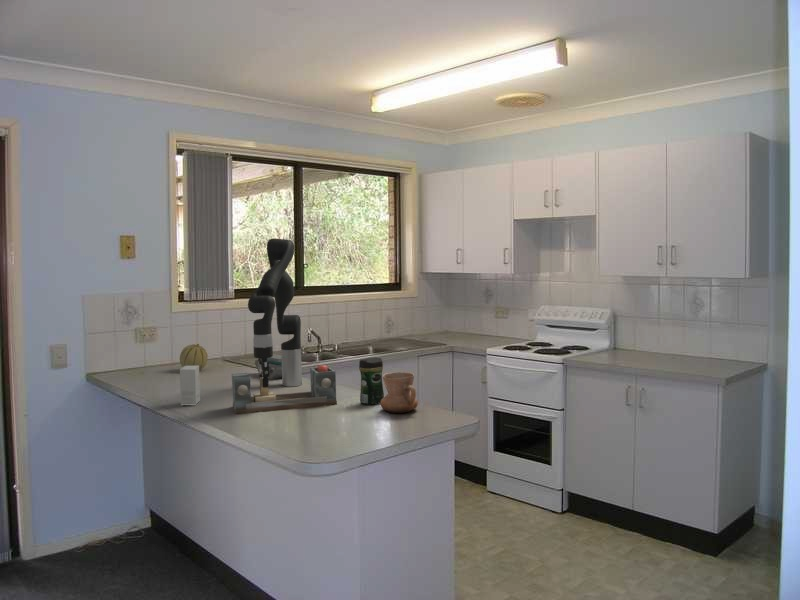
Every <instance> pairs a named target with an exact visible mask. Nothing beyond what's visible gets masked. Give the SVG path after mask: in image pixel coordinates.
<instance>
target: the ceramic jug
mask: <svg viewBox="0 0 800 600" xmlns="http://www.w3.org/2000/svg"><path fill="white" fill-rule="evenodd" d="M414 379H415V374H414V373H413V372H409V371H407V372H406V371H394V372H393V371H392V372H387V373H384V374H382V382H383V384H384V385H385V389H386V392H387V395H384V398H383V399H382V400H381V402H380V403H379V405H380V407H381V408H382V409H383V410H384V411H386V412H388V413H394V414H399V413H400V414H401V413H402V414H404V413H408V412H411V411H413V410H415V409H416V408H417V407H418V404H419V401H418V399H417V391H416V387H415V386H413V384H414Z"/></svg>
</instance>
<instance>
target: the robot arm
mask: <svg viewBox="0 0 800 600" xmlns="http://www.w3.org/2000/svg"><path fill="white" fill-rule="evenodd" d="M266 252H267V258H268V262H269V263H268V264H269V267H270V268H269V269H268V270H267V271H265V273H264V274H263V276H262V277H261V280H260V283H259V286H258V287H257V288H256V289H255V290H254V291H253V293H252V294H251V295H250V297H249V299H248V302H247V308H248V311H250V313H252V314H263V316H262V318H259V319H255V320H254V321H253V322H252V323H253V325H252V326H253V340H252V343H253V344H252V346H253V347H252V348H253V358H255V359H257V360H259V362H258V369H259V372H258V374H259V378H260V377H262V378H263V387H264V388H267V387H270V386H269V385H270V384H269V376H270V375H269V362H268V361H267V358H270V357H272V356H273V354H274V352H273V350H274V348H273V333H272V323H273V316H274V312H276V326H277V327H276V328H277V332H278V333H279V334H280V335H282V336H283V335H284V336H285V335H286V336H287V335H289V336H290V335H293V337H292V338H291V339H289V340H287V341H283V342H282V343H281V344H280V349H281V350H280V351H281V352H280V353H281V354H280V355H281V357H282V378H281V379H282V380H281V382H282V383H281V384H282V386H283V387H297V386H302V385H303V372H302V371H303V370H302V369H303V367H302V344H301V342H302V341H301V329H302V328H301V327H302V326H301V325H302V321H301V317H300V315H299V314H287V315H286V314H285V311H286V309H287V308H288V306H289V305H290V304H291V302H292V300H293V299H294V297H295V287H294V286H295V285H294V280H293V279H292V277H291V276H290V274H288V272H287V268H288V267H289V265H290V263H291V261H292V259H293V257H294V254H295V243H294V242H293V240H290V239H285V238H269V239H268V241H267V243H266ZM273 297H274V298H273ZM275 310H276V311H275ZM266 373H267V374H266ZM260 374H261V375H260Z"/></svg>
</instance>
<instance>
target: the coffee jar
mask: <svg viewBox="0 0 800 600" xmlns="http://www.w3.org/2000/svg"><path fill="white" fill-rule="evenodd" d="M358 367H359V368H358V369H359V371H360V378H361V379H360V391H359V392H360V394H359V395H360V397H359V398H360V399H359V401H360V403H361V404H363V405H365V404H366V405H372V404H373V405H378V404H380V402H381V400H382V399H383V398H384V397H385V394H384V393H385V392H384V385H383V384H384V383H383V369H384V364H383V360H382V358H381V357H367V358H362V359H360V360H359V365H358Z"/></svg>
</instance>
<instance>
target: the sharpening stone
mask: <svg viewBox="0 0 800 600" xmlns="http://www.w3.org/2000/svg"><path fill="white" fill-rule="evenodd" d="M267 361H268V362H269V375H270V376H269V378H270V380H276V378H277V379H282V357H281V354H278V353H273V356H272V357H270V358H267ZM258 362H259V360H258V359H257V360H254V365H255V367H256V369H257V372H258V373H259V369H258ZM266 374H267V373H266ZM260 375H261V374H259V376H260ZM269 378H268V379H269Z"/></svg>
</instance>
